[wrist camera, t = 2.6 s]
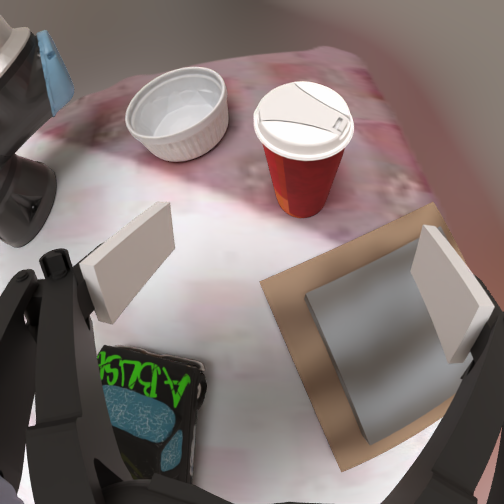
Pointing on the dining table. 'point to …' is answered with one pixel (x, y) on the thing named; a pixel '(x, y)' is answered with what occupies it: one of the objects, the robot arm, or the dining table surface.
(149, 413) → the toy van
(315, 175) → the paper cup
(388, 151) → the dining table surface
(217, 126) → the ramekin
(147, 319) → the dining table surface
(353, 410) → the two-tone square platform
